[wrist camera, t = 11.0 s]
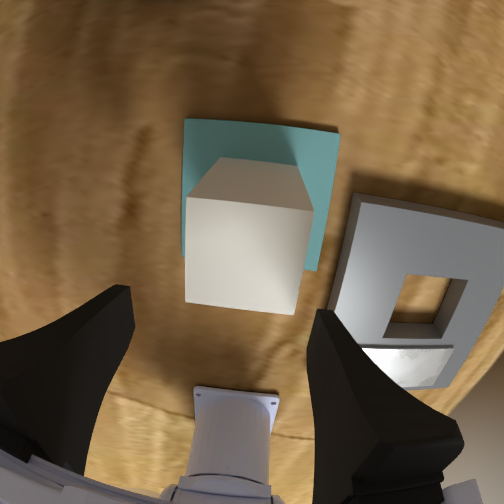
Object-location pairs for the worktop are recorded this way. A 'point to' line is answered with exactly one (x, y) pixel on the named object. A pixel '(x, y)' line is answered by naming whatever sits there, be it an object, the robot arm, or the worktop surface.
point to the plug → (247, 236)
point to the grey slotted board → (416, 263)
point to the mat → (268, 150)
